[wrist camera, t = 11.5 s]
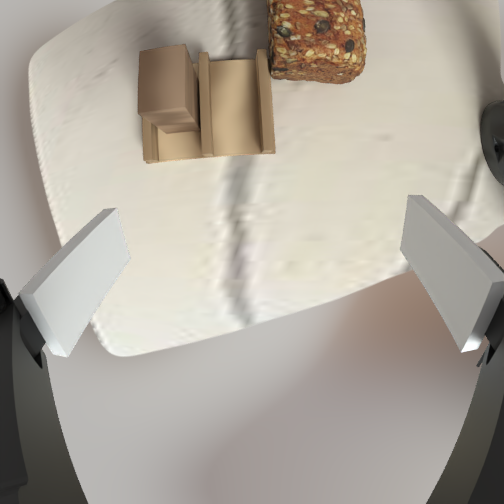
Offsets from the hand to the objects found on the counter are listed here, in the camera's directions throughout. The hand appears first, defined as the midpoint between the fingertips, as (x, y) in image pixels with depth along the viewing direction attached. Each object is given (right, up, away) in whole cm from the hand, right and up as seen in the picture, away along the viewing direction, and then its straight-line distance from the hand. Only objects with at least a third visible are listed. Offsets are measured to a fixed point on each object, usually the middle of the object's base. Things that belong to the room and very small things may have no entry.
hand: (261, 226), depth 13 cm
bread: (+6, +28, +18) cm, 34 cm away
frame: (-8, +16, +19) cm, 26 cm away
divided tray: (-6, +16, +20) cm, 26 cm away
